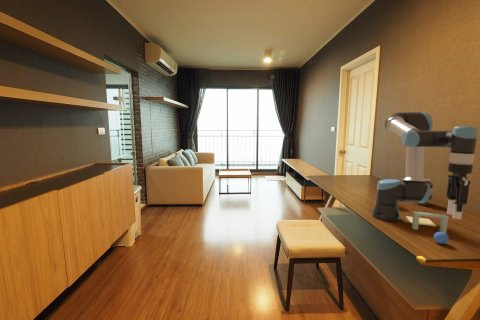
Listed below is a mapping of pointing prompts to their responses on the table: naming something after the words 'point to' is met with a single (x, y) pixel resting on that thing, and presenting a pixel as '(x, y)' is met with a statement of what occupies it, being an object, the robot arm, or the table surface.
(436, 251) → the table surface
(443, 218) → the bridge
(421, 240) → the table surface
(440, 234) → the ball
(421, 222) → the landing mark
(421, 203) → the apothecary jar
